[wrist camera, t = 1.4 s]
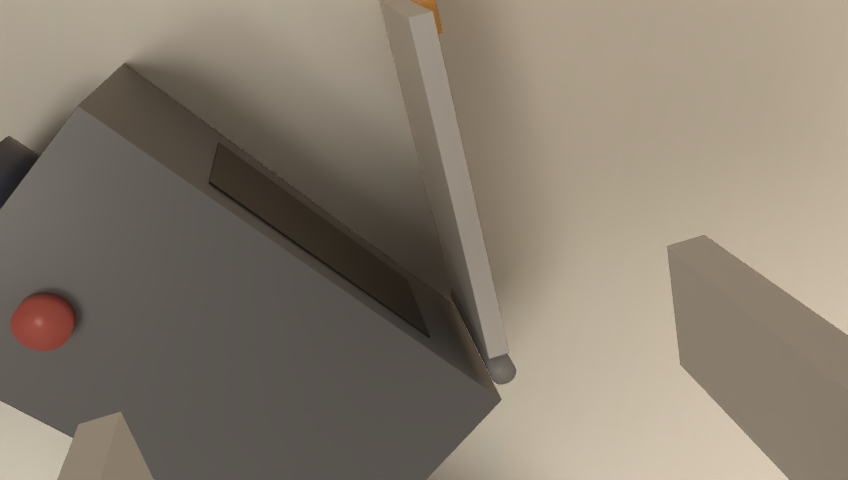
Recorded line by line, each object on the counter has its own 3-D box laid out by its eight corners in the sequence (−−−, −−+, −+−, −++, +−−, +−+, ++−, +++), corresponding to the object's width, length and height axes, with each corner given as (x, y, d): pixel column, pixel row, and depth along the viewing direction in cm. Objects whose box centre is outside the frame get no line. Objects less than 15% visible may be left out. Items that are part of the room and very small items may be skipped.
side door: (483, 295, 36) (530, 375, 30) (453, 304, 36) (493, 387, 30) (411, -12, 31) (451, 4, 24) (375, -2, 30) (405, 17, 24)
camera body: (-51, 232, 31) (-158, 333, 23) (93, 38, 29) (29, 76, 22) (324, 451, 38) (338, 584, 31) (456, 305, 37) (507, 407, 29)
